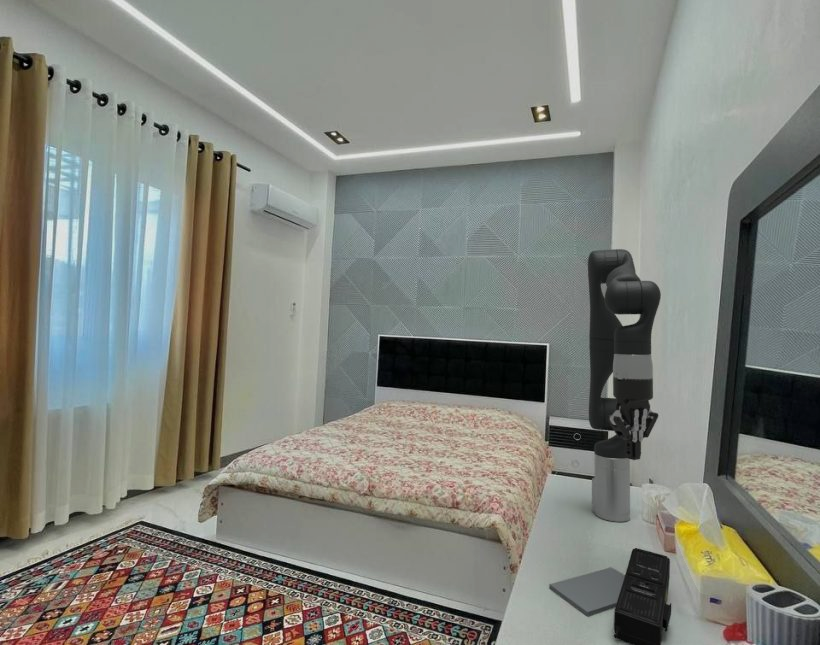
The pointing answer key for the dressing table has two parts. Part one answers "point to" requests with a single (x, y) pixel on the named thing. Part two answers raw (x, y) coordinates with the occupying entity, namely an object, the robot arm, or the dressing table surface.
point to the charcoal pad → (591, 590)
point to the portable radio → (643, 599)
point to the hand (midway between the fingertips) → (633, 458)
